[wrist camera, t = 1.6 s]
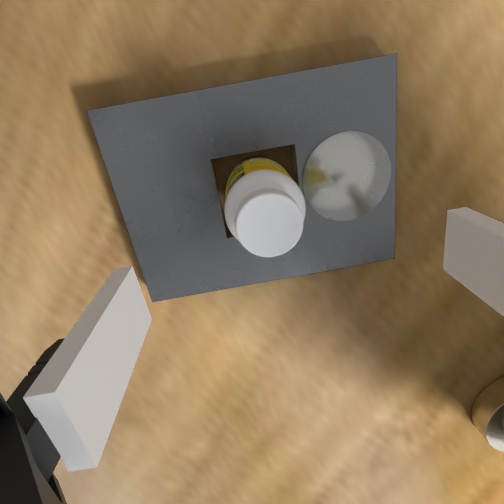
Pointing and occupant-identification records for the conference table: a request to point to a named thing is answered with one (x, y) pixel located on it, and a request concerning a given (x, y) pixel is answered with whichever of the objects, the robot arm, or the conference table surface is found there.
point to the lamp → (491, 414)
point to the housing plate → (249, 140)
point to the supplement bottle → (264, 207)
